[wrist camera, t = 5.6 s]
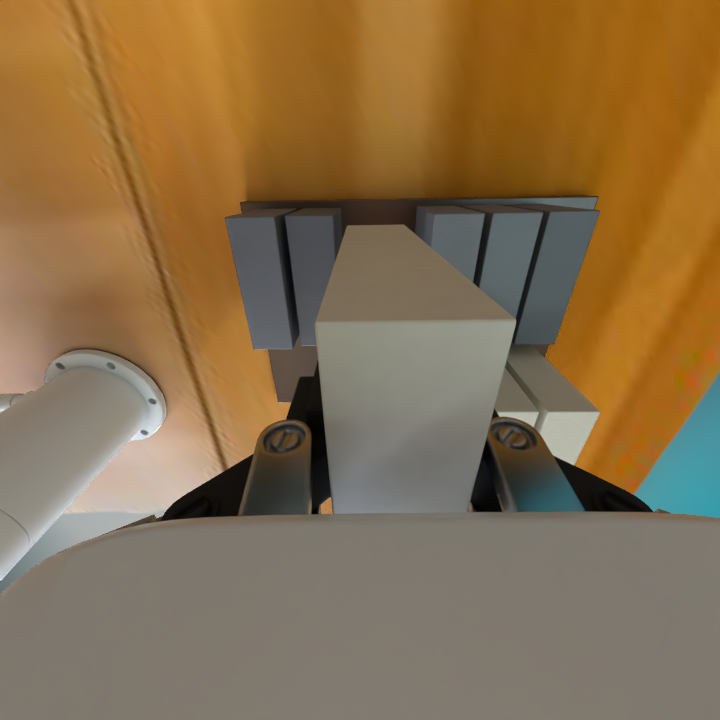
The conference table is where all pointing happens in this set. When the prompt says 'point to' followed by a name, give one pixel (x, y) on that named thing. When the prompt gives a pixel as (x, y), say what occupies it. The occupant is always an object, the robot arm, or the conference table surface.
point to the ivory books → (545, 402)
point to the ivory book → (405, 374)
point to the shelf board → (379, 212)
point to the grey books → (438, 230)
